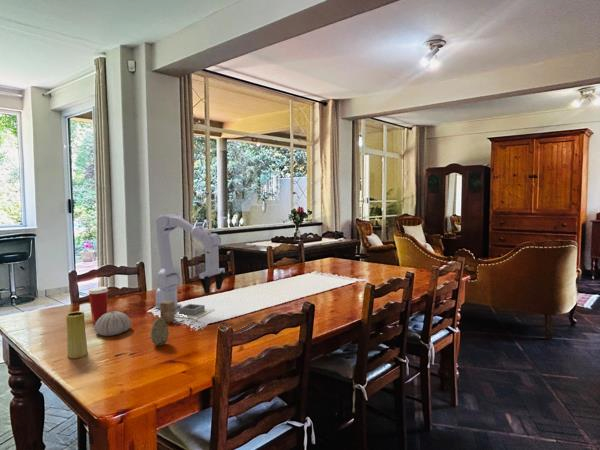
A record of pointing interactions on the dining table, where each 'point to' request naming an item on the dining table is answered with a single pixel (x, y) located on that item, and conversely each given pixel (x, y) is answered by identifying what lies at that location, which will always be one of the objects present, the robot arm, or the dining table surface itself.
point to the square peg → (167, 311)
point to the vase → (76, 335)
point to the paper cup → (98, 302)
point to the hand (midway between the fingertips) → (213, 291)
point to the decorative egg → (159, 332)
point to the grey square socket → (193, 310)
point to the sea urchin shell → (112, 323)
